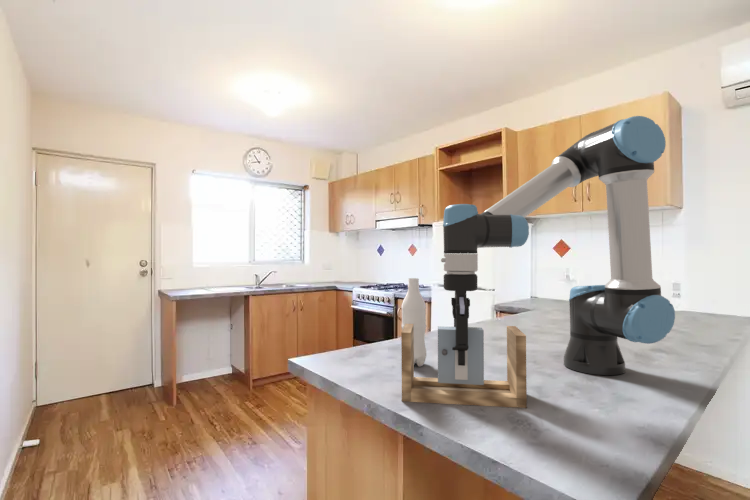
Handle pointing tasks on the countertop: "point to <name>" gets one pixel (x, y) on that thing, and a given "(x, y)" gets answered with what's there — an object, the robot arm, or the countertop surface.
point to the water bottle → (415, 318)
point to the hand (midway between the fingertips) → (460, 376)
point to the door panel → (448, 356)
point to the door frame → (468, 394)
